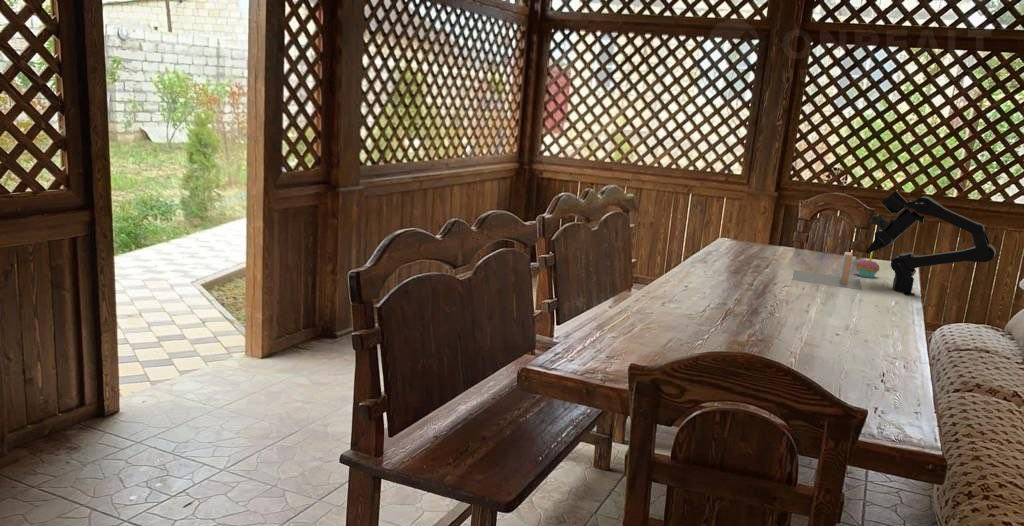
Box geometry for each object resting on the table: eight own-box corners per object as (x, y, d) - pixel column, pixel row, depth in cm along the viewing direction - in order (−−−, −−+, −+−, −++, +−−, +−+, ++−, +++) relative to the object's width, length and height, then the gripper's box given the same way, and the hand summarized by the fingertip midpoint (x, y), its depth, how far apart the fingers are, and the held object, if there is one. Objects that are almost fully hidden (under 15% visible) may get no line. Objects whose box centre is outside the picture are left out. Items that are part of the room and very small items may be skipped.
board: (859, 281, 285) (859, 279, 285) (862, 292, 267) (862, 290, 267) (793, 271, 294) (793, 269, 294) (791, 281, 276) (792, 279, 276)
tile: (846, 280, 281) (851, 252, 279) (847, 284, 275) (852, 255, 272) (839, 279, 282) (844, 251, 279) (840, 283, 276) (845, 254, 273)
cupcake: (881, 281, 288) (887, 251, 286) (859, 279, 288) (865, 249, 286) (871, 276, 297) (876, 246, 294) (850, 274, 297) (855, 245, 294)
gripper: (886, 208, 278) (853, 236, 285) (882, 206, 262) (847, 237, 269) (909, 229, 275) (874, 257, 281) (906, 229, 259) (870, 259, 265)
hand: (866, 252), depth 274 cm, fingers closed
